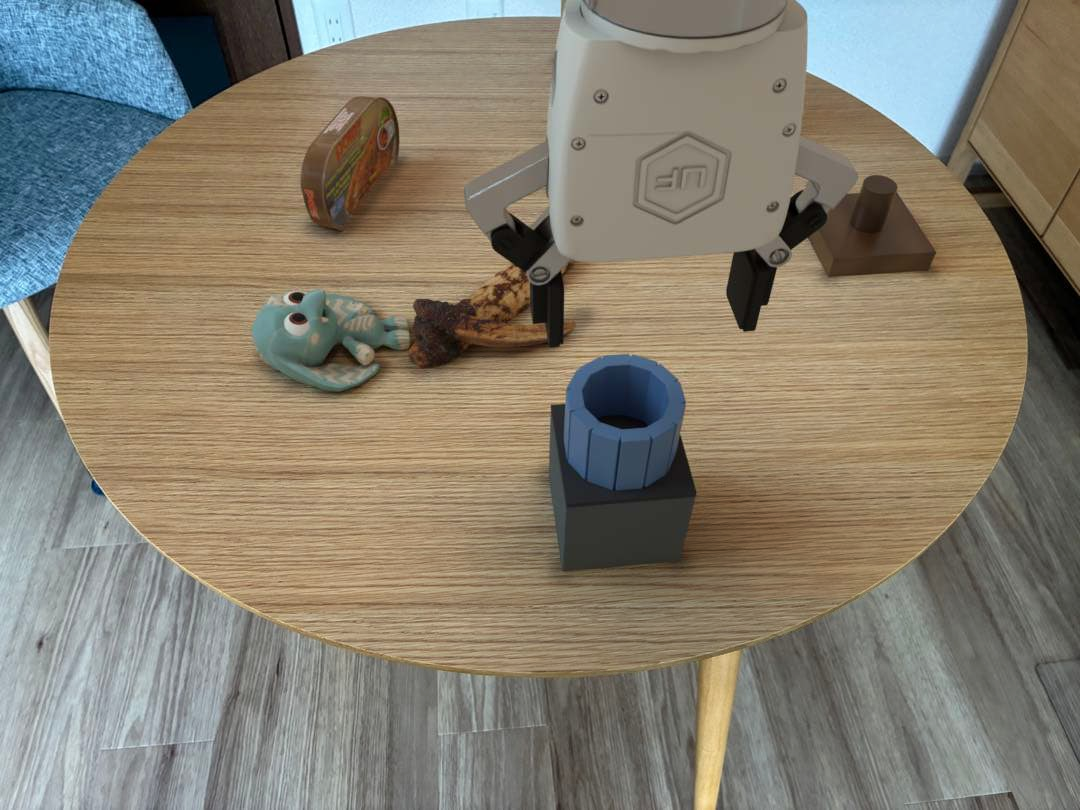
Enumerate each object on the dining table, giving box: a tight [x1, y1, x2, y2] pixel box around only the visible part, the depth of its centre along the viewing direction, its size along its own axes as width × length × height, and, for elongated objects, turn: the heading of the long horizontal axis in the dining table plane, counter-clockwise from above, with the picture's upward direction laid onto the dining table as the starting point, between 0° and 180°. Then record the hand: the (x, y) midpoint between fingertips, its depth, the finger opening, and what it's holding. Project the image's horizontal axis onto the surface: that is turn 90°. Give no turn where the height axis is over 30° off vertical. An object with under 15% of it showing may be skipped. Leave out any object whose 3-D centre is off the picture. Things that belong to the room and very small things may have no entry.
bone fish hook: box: [408, 260, 577, 370], centre depth 69 cm, size 9×5×18 cm
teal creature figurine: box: [250, 288, 413, 393], centre depth 66 cm, size 11×7×12 cm
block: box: [548, 403, 698, 572], centre depth 55 cm, size 8×8×8 cm
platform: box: [807, 174, 937, 278], centre depth 75 cm, size 9×9×7 cm
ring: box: [564, 353, 687, 491], centre depth 50 cm, size 7×7×4 cm
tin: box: [300, 95, 400, 232], centre depth 79 cm, size 15×3×8 cm, turn 162°
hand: (646, 320), depth 44 cm, fingers open, 9 cm apart
